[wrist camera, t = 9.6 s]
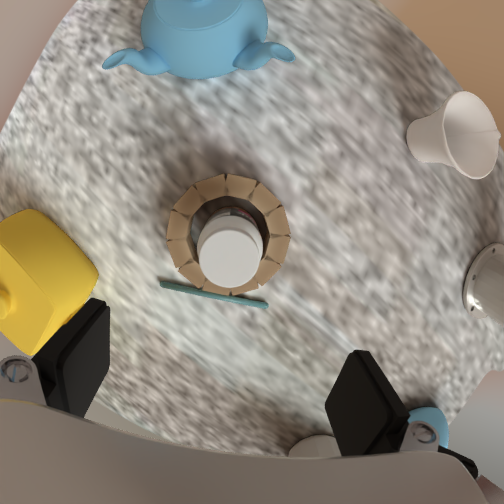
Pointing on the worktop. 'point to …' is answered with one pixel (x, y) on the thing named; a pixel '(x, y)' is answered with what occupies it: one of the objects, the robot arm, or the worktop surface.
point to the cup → (457, 136)
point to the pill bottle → (229, 247)
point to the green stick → (213, 295)
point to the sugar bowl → (432, 421)
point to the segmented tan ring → (216, 188)
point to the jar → (316, 447)
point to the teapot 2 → (201, 39)
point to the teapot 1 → (39, 279)
